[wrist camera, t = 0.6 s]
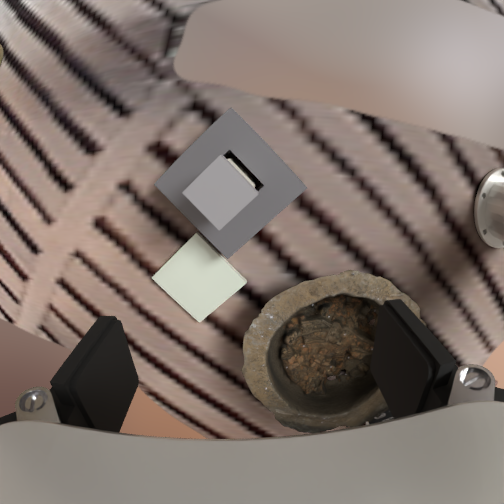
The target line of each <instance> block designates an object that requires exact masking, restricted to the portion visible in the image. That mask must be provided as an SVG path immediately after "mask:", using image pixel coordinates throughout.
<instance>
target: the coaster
mask: <svg viewBox="0 0 504 504" xmlns="http://www.w3.org/2000/svg"><path fill="white" fill-rule="evenodd" d="M152 279H153V280H154V281H155V282H156V283H157V284H158V285H159V286H160V287H161V288H163V289H164V290H165V291H166V292H167V293H168V294H169V295H170V296H171V297H172V298H173V299H174V300H175V301H176V302H177V303H178V304H179V305H181V306H182V307H183V308H184V309H185V310H186V311H187V312H188V313H189V314H190V315H191V316H193V317H194V318H195V319H196V320H197V321H198V322H199V323H200V322H201V321H202V320H203V319H204V318H206V317H207V316H208V315H209V314H210V313H212V312H213V311H214V310H215V309H216V308H218V307H219V306H220V305H221V304H222V303H223V302H225V301H226V300H227V299H228V298H229V297H231V296H232V295H233V294H234V293H235V292H236V291H238V290H239V289H240V288H241V287H242V286H244V285H245V284H246V283H247V280H246V279H245V278H244V277H243V276H242V275H241V274H240V273H239V272H238V271H237V270H236V269H235V268H234V267H233V266H232V265H231V264H230V263H229V262H228V261H227V260H226V259H225V258H224V257H223V256H222V255H221V254H220V253H219V252H218V251H217V250H216V249H215V248H214V247H213V246H212V245H211V244H210V243H209V242H208V241H207V240H206V239H205V238H204V237H203V236H202V235H201V234H200V233H199V232H198V231H197V232H196V233H195V234H194V235H193V236H192V237H191V238H190V239H189V240H188V241H187V242H186V243H185V244H184V245H183V246H182V247H181V248H180V249H179V250H178V251H177V252H176V253H175V254H174V255H173V256H172V257H171V258H170V259H169V260H168V261H167V262H166V263H165V264H164V265H163V266H162V267H161V268H160V269H159V270H158V271H157V272H156V274H155V275H154V276H153V277H152Z"/></svg>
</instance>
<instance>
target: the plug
mask: <svg viewBox="0 0 504 504" xmlns="http://www.w3.org/2000/svg"><path fill="white" fill-rule="evenodd" d="M255 183H256V182H255V181H254V180H253V179H252V178H251V177H250V175H249V174H248V173H247V172H246V171H245V170H244V169H243V168H242V167H241V166H240V165H239V164H238V163H237V162H236V161H235V160H234V159H233V158H230V159H226V158H225V157H224V156H223V155H220V156H219V157H218V158H217V159H216V160H215V161H214V162H212V163H211V164H210V165H209V166H208V167H207V168H206V169H205V170H204V171H203V172H202V173H201V174H200V175H199V176H198V177H197V178H196V179H195V180H194V181H193V182H192V183H191V184H190V185H189V186H188V187H187V188H186V189H185V190H184V191H183V192H182V193H183V194H184V195H185V196H186V197H187V198H188V199H189V200H190V201H191V202H192V204H193V205H194V206H195V207H196V208H197V209H198V210H199V211H200V212H201V213H202V214H203V215H204V216H205V217H206V218H207V219H208V220H209V221H210V222H211V223H212V224H213V225H214V226H215V227H216V228H217V229H218V230H219V231H220V230H221V229H222V228H223V227H224V226H225V225H226V224H227V223H228V222H229V221H230V220H231V219H232V218H233V217H235V216H236V215H237V214H238V213H239V212H240V211H241V210H242V209H243V208H244V207H245V206H246V205H247V204H249V203H250V202H251V201H252V200H253V199H254V198H255V197H256V196H257V195H258V193H259V192H258V191H257V190H256V189H255Z"/></svg>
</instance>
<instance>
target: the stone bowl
mask: <svg viewBox="0 0 504 504" xmlns="http://www.w3.org/2000/svg"><path fill="white" fill-rule="evenodd" d="M394 299H401V300H402V301H403V302H404V303H405V304H406V305H407V306H408V307H409V309H410V310H411V311H412V312H413V313H414V314H415V315H416V316H417V317H418V318H419V319H420V321H421V322H422V323H423V324H424V325H425V326H426V323H425V322H424V321H423V320H421V318H420V313H419V312H420V308H419V306H418V305H417V304H416V303H415V302H414V301H413V300H411V299H410V298H409V296H407V295H406V294H405V293H402V292H400V291H399V290H398V289H397V288H396V287H395V286H394V285H393V284H392V283H391V282H390V281H388V280H386V279H384V278H382V277H380V276H379V277H375V276H373V275H371V274H367V273H360V272H359V271H354V270H348V271H345V272H342V273H340V274H339V275H338V276H337V275H334V274H333V275H330V276H325V277H320V278H317V279H315V280H309V281H304V282H301V283H300V284H298V285H297V286H294V287H291V288H289V289H287V290H285V291H283V292H282V293H280V294H278V295H276V296H275V297H274V298H272V299H271V300H270V301H269V302H267V303H266V305H265V306H264V308H263V309H262V310H261V311H262V313H260V314H259V316H258V318H256V319H254V320H253V322H252V325H251V326H250V327H249V329H248V330H247V331H246V332H245V336H244V341H243V355H244V366H243V368H242V373H243V375H244V378H245V380H246V382H247V384H248V386H249V388H250V390H251V392H252V394H253V395H254V396H255V397H256V398H257V399H258V400H260V401H261V402H262V403H263V405H264V406H265V407H266V408H268V409H269V411H272V412H273V413H274V414H275V418H276V420H278V421H279V422H280V423H281V424H282V425H283V426H285V427H290V428H292V429H295V430H297V431H299V432H310V433H320V432H321V431H326V430H331V429H334V428H336V427H338V426H344V425H346V427H351V428H352V427H358V426H360V425H362V424H364V423H365V422H371V421H372V419H373V418H374V417H377V418H378V417H379V416H380V415H381V414H382V413H383V412H385V411H387V410H389V407H388V405H387V403H386V401H385V399H384V397H383V395H382V393H381V391H380V389H379V387H378V385H377V383H376V381H375V379H374V377H373V375H372V373H371V368H370V364H371V358H372V353H373V347H374V341H375V334H376V327H377V320H378V313H379V307H380V305H383V304H384V302H385V301H386V300H394ZM372 319H375V322H374V325H370V324H369V322H370V320H372ZM344 369H346V374H345V375H339V374H340V372H341V370H344ZM328 376H336V379H334V380H332V381H329V380H328V379H327V377H328Z"/></svg>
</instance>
